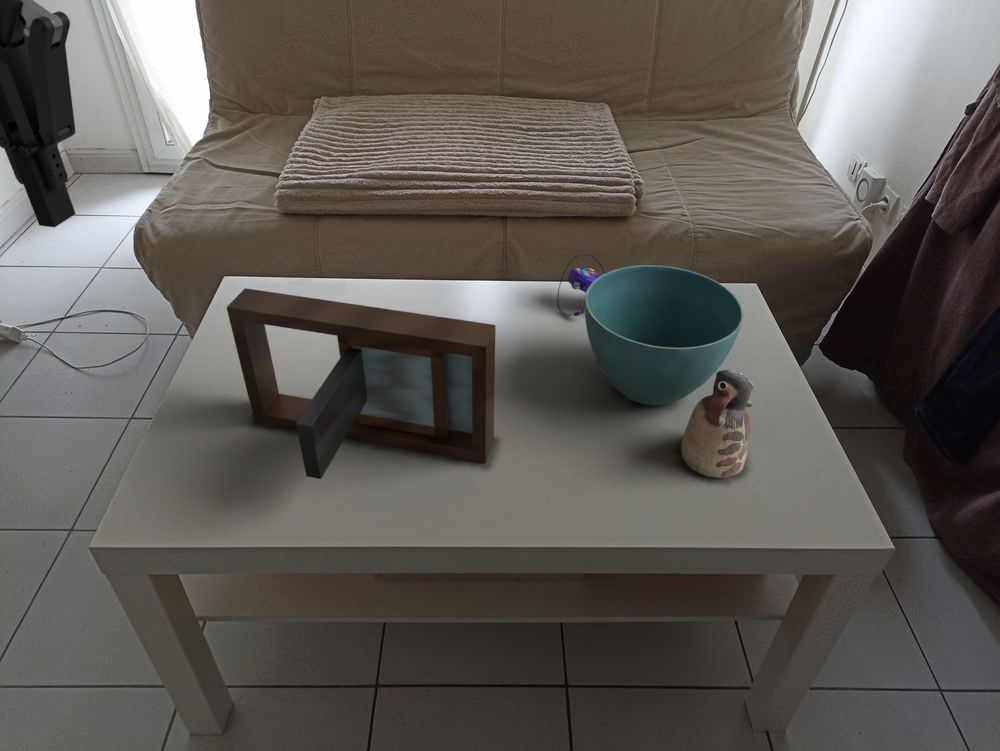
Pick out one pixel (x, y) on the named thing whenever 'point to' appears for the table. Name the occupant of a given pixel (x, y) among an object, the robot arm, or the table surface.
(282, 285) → the table surface
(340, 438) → the sliding pane
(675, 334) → the teal bowl
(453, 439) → the window frame
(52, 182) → the robot arm
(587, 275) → the game controller
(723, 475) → the figurine
